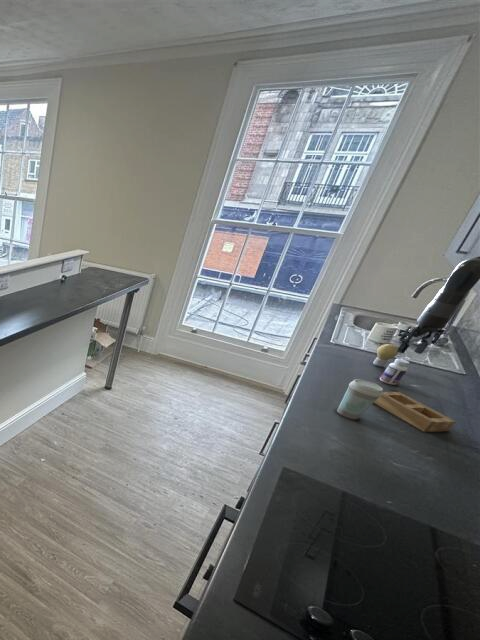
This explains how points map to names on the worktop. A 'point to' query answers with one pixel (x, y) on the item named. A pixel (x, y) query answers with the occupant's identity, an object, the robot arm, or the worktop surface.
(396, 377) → the pill bottle
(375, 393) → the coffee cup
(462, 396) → the worktop surface
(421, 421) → the tray
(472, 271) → the robot arm
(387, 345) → the light bulb
